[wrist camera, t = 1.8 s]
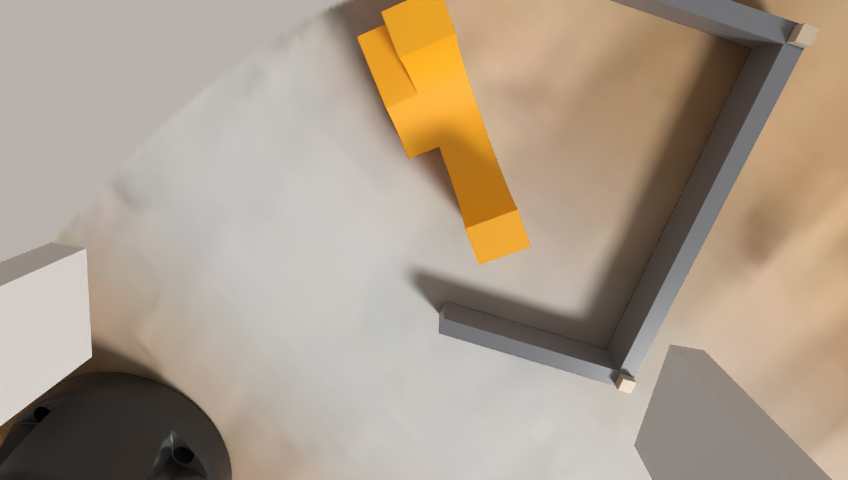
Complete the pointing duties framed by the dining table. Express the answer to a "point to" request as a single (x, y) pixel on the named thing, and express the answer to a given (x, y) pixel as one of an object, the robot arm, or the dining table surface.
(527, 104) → the dining table surface
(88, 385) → the robot arm
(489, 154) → the orange blocky piece
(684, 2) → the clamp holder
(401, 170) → the dining table surface
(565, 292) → the dining table surface
